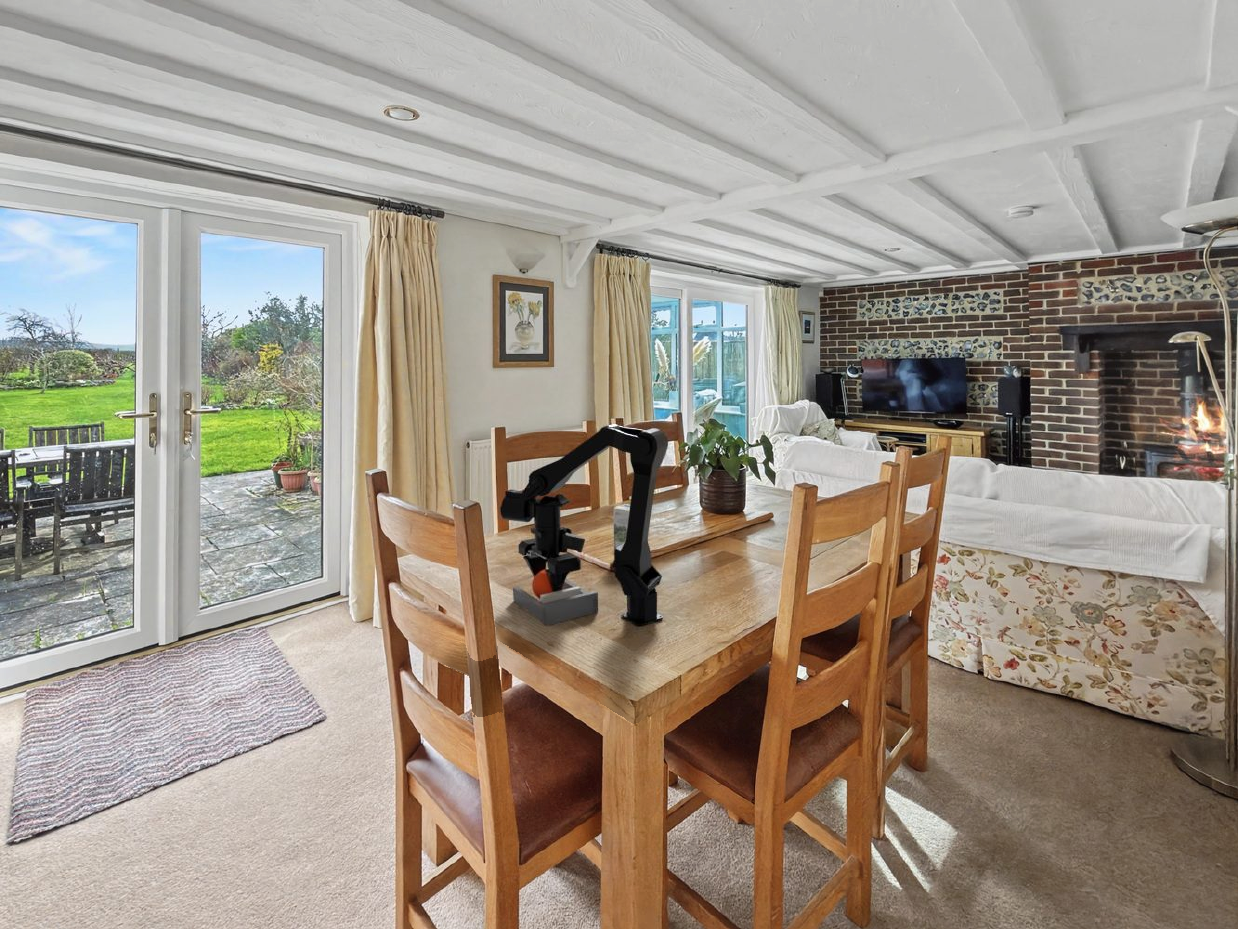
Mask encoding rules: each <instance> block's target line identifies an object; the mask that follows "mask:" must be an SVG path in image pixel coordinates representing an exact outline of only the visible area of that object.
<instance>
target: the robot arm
mask: <svg viewBox="0 0 1238 929" xmlns="http://www.w3.org/2000/svg"><path fill="white" fill-rule="evenodd" d="M668 447H669V440H668V437H667V435H666V434H665V432H664V431H662V430H661V429H659V428H650V429H646V430H645V429H639V428H635V427H634V428H632V427H625V426H621V425H618V424H616V423H613V424H612V423H611V424H608V425H604V426H602V427H601V428H600V429H599V430H598V431H597V432H596V433H594V434H593V435H591V436H590V437H589V438H588V439H586V440H585V441H583V442H582V443H580V444H579V445H578V446H576V447H575V448H574V449H572V450H570V451H569V452H568V453H567V454H565V455H564V456H562V457H560V459H558V460H554V461H553V462H550V463H548V464H546V465H544V466H542V467H539V468H537V469H535V470H533V471H531V472H530V474H529V475H528V483H527V485H526V486H525V487H524V489H523V490H516V489H508V490H505V491H504V494H505V496H504V497H503V500H502V501H501V506H500V507H499V509H500V510H499V513H500V515H501V517H502V519H503V520H505V521H510V522H511V521H513V522H523V523H529V522H531V521H532V519H533V523H534V527H531V528H530V533H531V534H533V535H534V538H529V539H524V540H521V541H520V542H519V543H518V554H520V555H522V557H523V558H522V559H523V560H525V562H526V564H527V566H528V568H529V570H530V572H531V573H532V576H533V577H535V576H536V574H538V573H539V572H540V571H542V570H545V569H548V570H545V571H546V574H547V577H548V580H549V583H550V586H551V589H552V592H556V591H560V590H562V588H563V585H564V582H565V579H567V576H568V575H569V574H570V573H572V572H577V571H580V570H582V562H581V561H582V560H581V559H580V558H579V557H578V556H576V555H574V554H572V553H569V552H568V550H569V551H570V550H571V551H576V552H577V553H582V552H583V549H584V546H585V542H586V538H585V537H582V536H580V535H577V534H574V533H572V529H571V528H569V527H565V526H561V525H562V524H561V508H562V507H565V506H567V505H568V504H570V500H569V499H568V498H567V497H566V496H564V495H563V493H561V492H559V493H558V494H556V495H555V496H552V495H551V496H550V495H549V494H551V493H554V492H557V491H558V490H561V488H563V486H565V484H567V482H569V481H570V479H571V478H572V476H573V475H574V474H575V472H576V471H578V470H579V469H581V468H582V467H584V466H585V465H586V464H588V463H590V462H591V461H592V460H594V459H596V458H597V457H598V456H600V455H601V454H603V452H605V451H607V450H608V449H610V448H614V449H616V450H618V451H620V452H623V453H627V454H629V456H630V458H629V459H630V466H631V467H632V472H633V480H632V486H631V487H632V488H631V496H630V504H629V505H630V511H629V518H628V526H627V534H626V541H625V542H624V543H623V544H621V545H620V546H619V547H617V548H616V549H615V550H614V549H613V564H612V566H611V569H613V570H614V577H615V579H617V581H618V582H619V584H620V587H621V590H622V593H623V595H624V596H626V612H622V613H621V617H622V618H623V619H625V620H627V621H629V622H630V623H632V624H634V625H636V626H638V627H640V626H644V625H648V624H651V623H655V622H658V621H661V620H663V619H664V616H663V615H661V614H660V613H658V592H657V589H656V587H657V586H659V585H660V584H661V581H662V577H663V576H662V574H661V573H660V572H659V571H658V570H657V568H656V567H655V566H654V565H653V563H652V552H651V551H652V550H651V548H650V545H649V532H650V526H651V517H652V511H653V502H654V496H655V488H656V482H657V480H656V479H657V474H658V472H659V470H660V469H661V466H662V464H663V462H664V460H665V456H666V453H667V450H668ZM537 497H541V498H537ZM567 552H568V553H567ZM561 553H563V554H561Z"/></svg>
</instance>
